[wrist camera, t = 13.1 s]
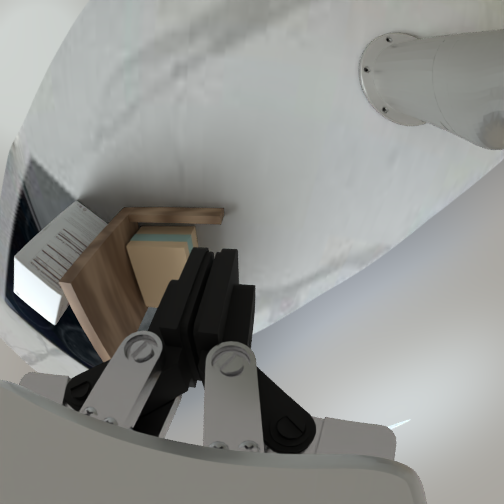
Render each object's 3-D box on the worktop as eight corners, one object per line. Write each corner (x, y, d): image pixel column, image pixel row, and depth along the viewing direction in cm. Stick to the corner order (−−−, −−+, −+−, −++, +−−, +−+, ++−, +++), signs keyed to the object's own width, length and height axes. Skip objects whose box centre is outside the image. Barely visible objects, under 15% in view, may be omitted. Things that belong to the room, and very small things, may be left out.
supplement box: (100, 262, 48) (55, 327, 34) (64, 235, 45) (12, 293, 31) (116, 228, 43) (61, 297, 29) (76, 198, 40) (12, 256, 26)
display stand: (223, 208, 39) (189, 298, 25) (229, 298, 49) (210, 389, 35) (123, 207, 40) (58, 281, 26) (145, 291, 50) (108, 369, 36)
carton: (195, 225, 42) (184, 247, 37) (205, 286, 49) (197, 311, 44) (141, 225, 42) (125, 246, 38) (157, 283, 49) (146, 306, 44)
